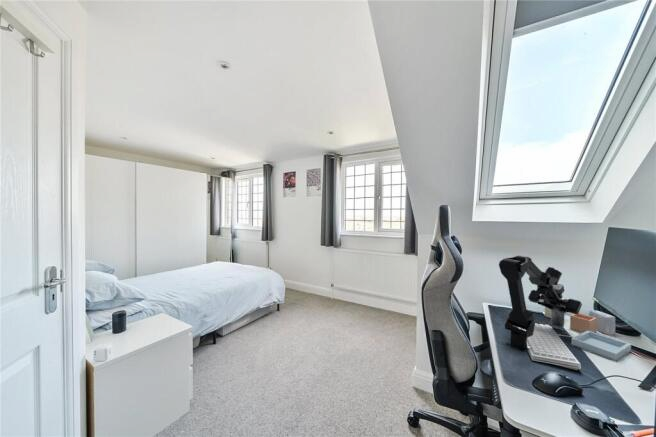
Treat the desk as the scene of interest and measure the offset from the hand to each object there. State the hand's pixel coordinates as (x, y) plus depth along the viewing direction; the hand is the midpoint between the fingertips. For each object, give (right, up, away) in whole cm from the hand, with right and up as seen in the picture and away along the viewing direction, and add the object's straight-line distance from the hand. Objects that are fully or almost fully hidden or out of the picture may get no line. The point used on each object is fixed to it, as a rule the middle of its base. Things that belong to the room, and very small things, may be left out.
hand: (559, 310), depth 120 cm
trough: (+2, -10, -17) cm, 19 cm away
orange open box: (+10, -9, -2) cm, 14 cm away
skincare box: (+10, -9, +14) cm, 19 cm away
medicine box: (+19, -9, -2) cm, 22 cm away
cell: (-1, -7, 0) cm, 7 cm away
